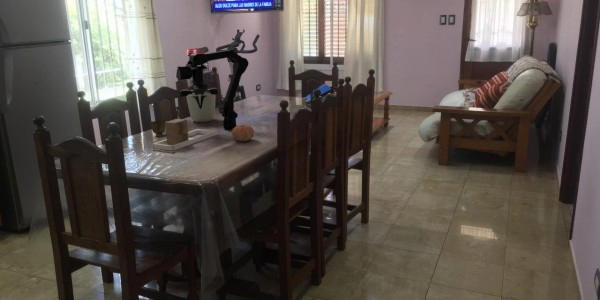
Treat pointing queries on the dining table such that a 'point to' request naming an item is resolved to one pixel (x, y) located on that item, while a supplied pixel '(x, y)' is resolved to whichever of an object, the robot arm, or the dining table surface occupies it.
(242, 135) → the orange pumpkin
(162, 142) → the trap box
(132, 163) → the dining table surface
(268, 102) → the dining table surface
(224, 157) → the dining table surface
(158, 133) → the cup
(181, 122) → the tan upright block
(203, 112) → the canister
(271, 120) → the dining table surface
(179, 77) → the robot arm
